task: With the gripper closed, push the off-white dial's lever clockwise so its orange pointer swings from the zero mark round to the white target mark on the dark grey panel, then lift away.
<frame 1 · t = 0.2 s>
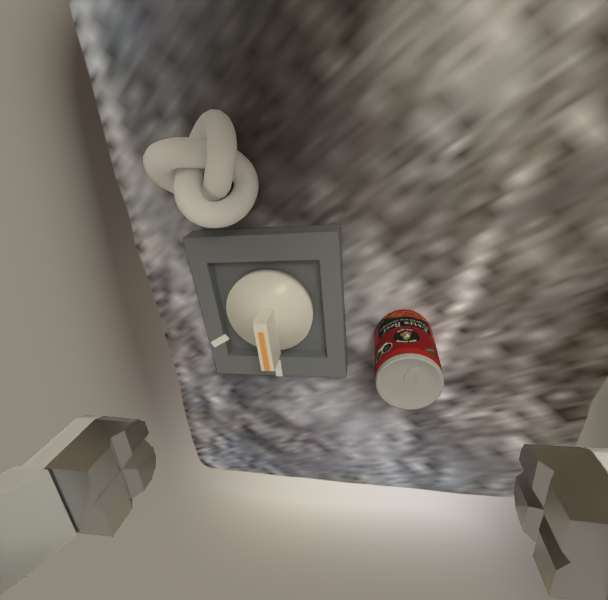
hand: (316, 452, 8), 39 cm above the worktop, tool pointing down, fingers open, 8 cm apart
dial: (266, 320, 48), point 5 cm above the worktop, hinge at 0.0°
canned food: (402, 331, 51), on the worktop
panel: (274, 302, 52), on the worktop
white decorative knot: (215, 165, 45), on the worktop
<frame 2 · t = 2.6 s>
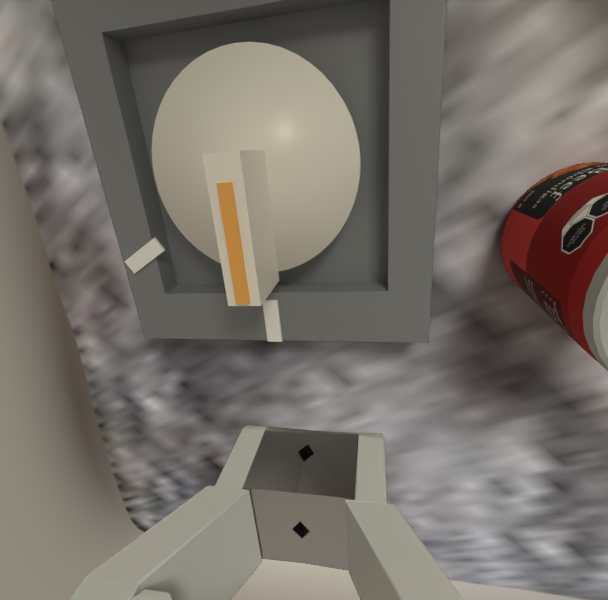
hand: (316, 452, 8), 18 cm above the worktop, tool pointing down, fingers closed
dial: (245, 176, 19), point 5 cm above the worktop, hinge at 0.0°
canned food: (564, 231, 22), on the worktop
panel: (268, 167, 23), on the worktop
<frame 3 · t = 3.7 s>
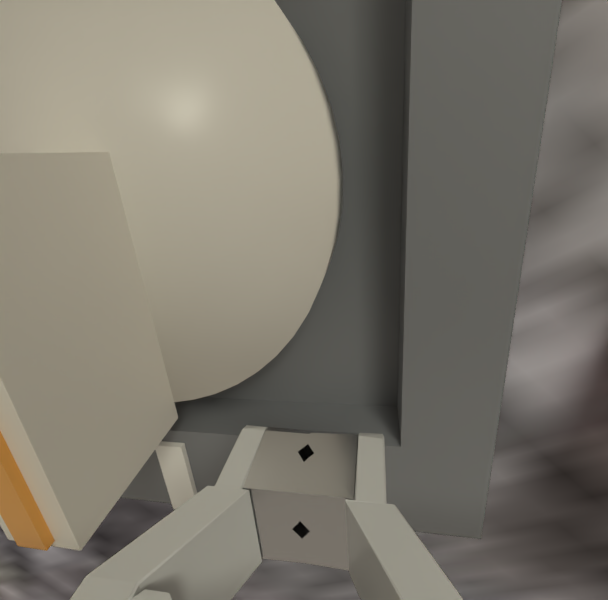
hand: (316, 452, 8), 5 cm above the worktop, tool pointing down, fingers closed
dial: (55, 218, 8), point 5 cm above the worktop, hinge at 0.0°
panel: (164, 186, 12), on the worktop
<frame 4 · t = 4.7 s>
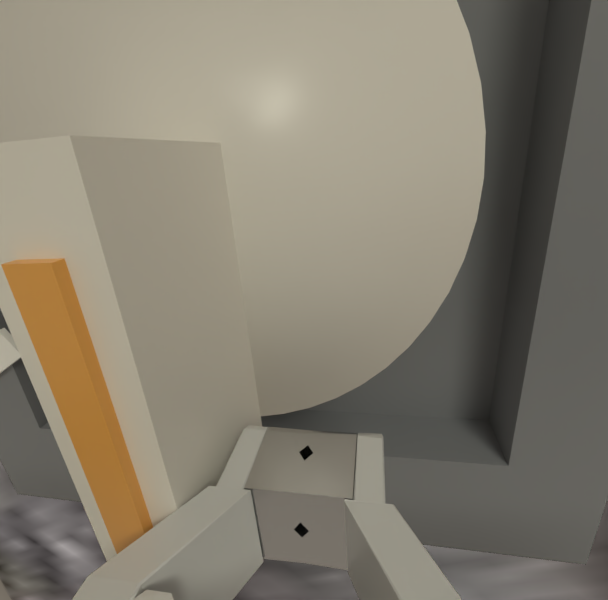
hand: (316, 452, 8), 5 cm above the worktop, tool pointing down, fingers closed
dial: (165, 215, 7), point 5 cm above the worktop, hinge at 0.0°, touching gripper
panel: (242, 182, 11), on the worktop
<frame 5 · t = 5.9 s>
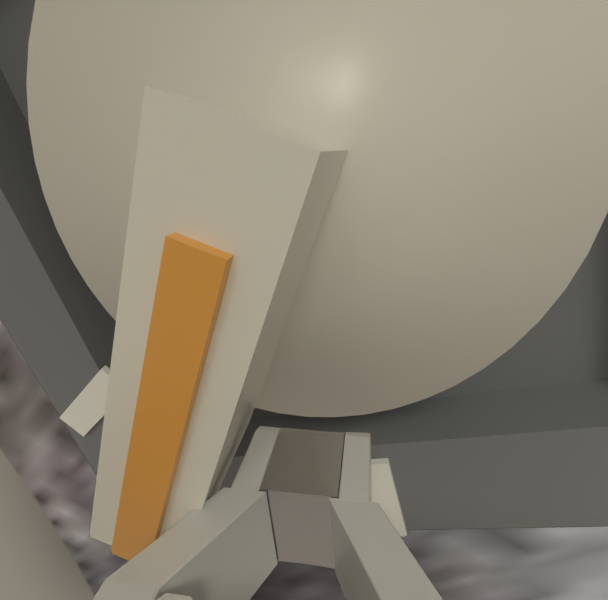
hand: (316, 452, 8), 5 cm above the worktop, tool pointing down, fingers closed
dial: (272, 203, 7), point 5 cm above the worktop, hinge at -35.0°, touching gripper
panel: (314, 173, 11), on the worktop
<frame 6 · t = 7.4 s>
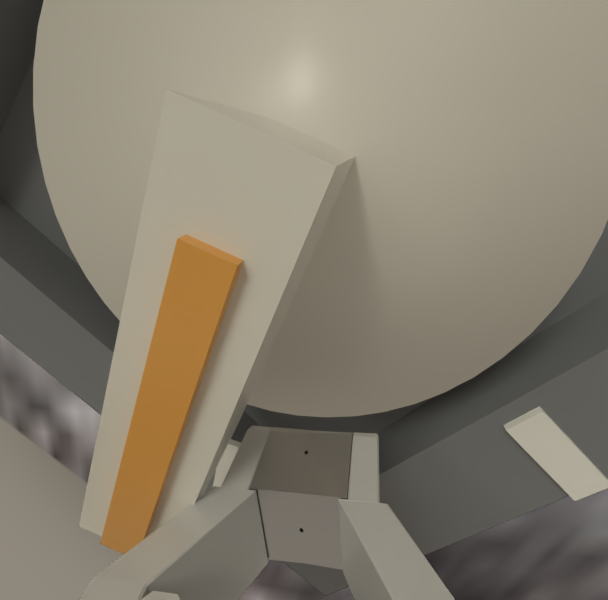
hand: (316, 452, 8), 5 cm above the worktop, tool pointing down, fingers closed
dial: (278, 205, 7), point 5 cm above the worktop, hinge at -68.2°, touching gripper
panel: (318, 174, 11), on the worktop
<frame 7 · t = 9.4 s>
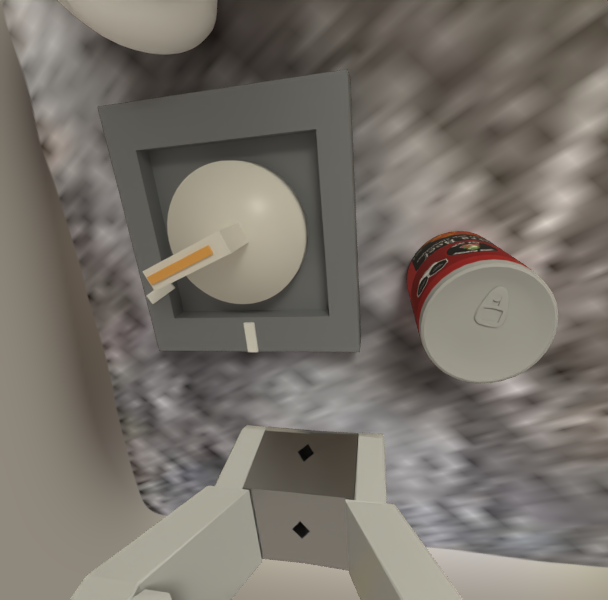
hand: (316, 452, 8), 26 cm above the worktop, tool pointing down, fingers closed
dial: (226, 241, 29), point 5 cm above the worktop, hinge at -68.2°
canned food: (450, 274, 32), on the worktop
panel: (247, 230, 33), on the worktop
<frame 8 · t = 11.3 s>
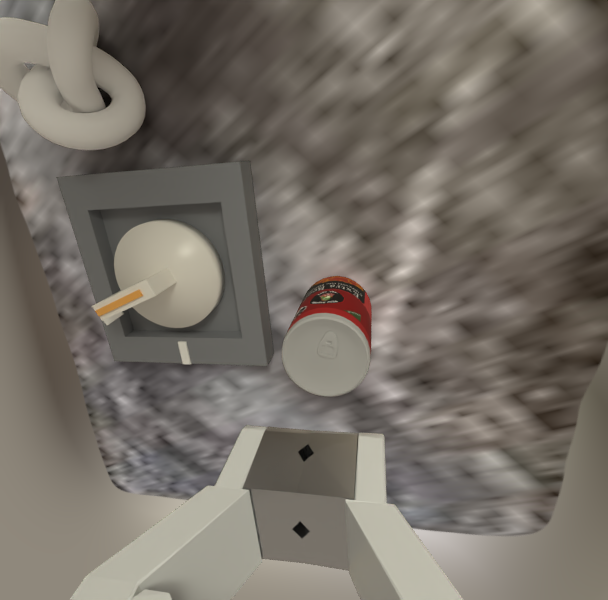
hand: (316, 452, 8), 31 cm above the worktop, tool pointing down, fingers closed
dial: (157, 282, 38), point 5 cm above the worktop, hinge at -68.2°
canned food: (337, 306, 41), on the worktop
panel: (181, 268, 42), on the worktop
white decorative knot: (98, 87, 36), on the worktop
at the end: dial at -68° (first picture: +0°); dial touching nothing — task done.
